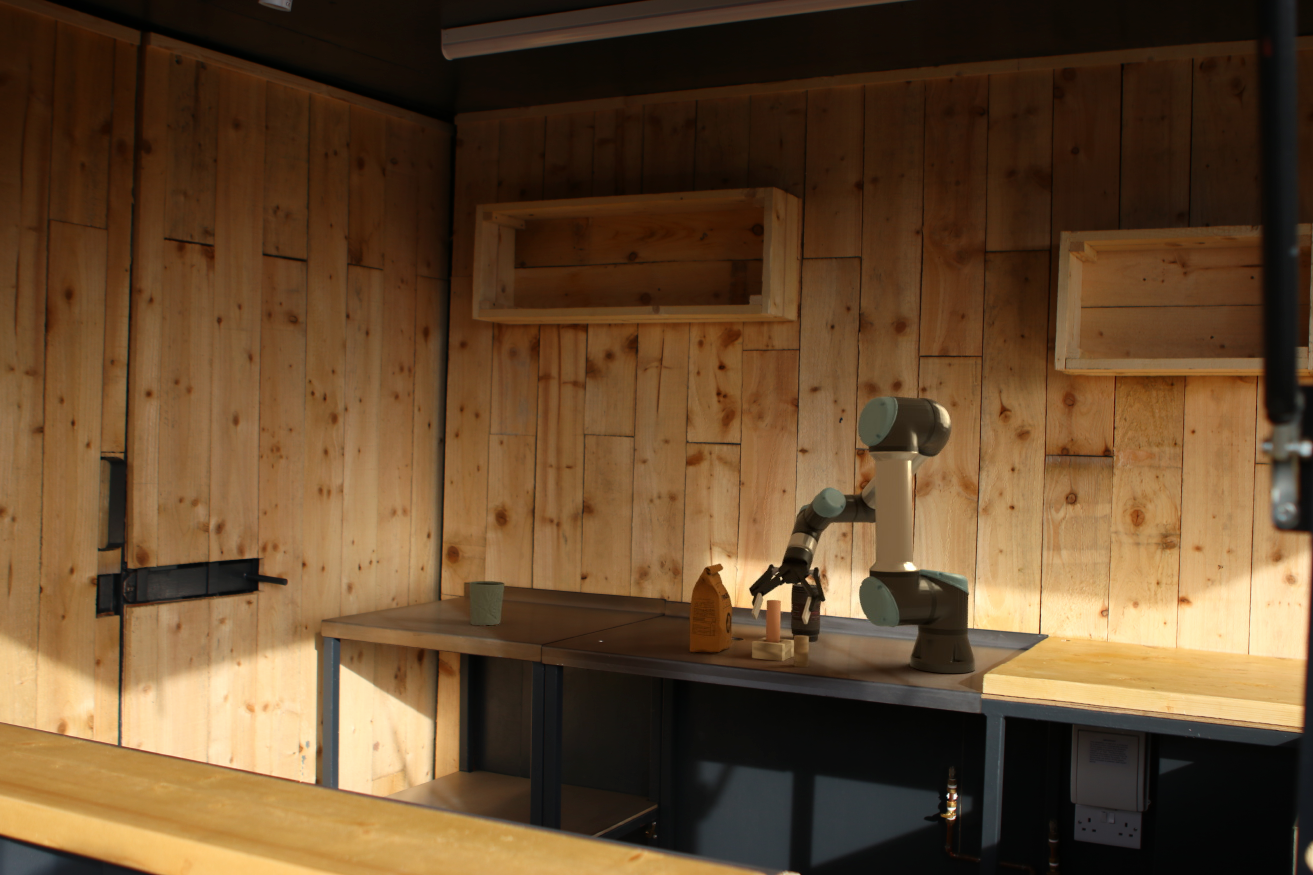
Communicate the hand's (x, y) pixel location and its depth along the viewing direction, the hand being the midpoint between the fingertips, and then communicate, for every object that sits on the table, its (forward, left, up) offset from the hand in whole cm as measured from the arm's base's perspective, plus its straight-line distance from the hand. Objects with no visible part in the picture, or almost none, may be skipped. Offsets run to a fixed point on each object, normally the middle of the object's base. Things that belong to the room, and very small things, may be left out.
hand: (778, 618), depth 282 cm
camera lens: (+2, -25, -9) cm, 26 cm away
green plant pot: (+91, 0, -9) cm, 91 cm away
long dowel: (0, +4, -9) cm, 10 cm away
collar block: (0, +4, -9) cm, 10 cm away
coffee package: (+17, +4, -9) cm, 20 cm away
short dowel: (-10, +11, -9) cm, 18 cm away
